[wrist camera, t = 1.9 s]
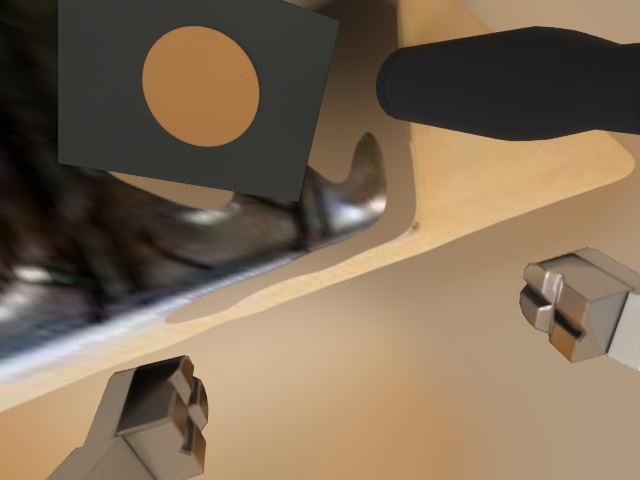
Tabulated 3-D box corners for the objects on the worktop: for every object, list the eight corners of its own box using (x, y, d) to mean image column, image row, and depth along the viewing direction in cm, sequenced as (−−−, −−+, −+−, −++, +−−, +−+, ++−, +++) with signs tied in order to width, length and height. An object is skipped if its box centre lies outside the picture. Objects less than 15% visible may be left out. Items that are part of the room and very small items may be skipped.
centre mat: (61, -79, 24) (57, -83, 23) (338, 22, 31) (340, 21, 30) (60, 161, 29) (57, 163, 28) (297, 200, 36) (298, 202, 35)
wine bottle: (362, 94, 34) (938, 144, 7) (402, 30, 32) (1268, -185, 6) (408, 132, 36) (942, 267, 10) (447, 75, 35) (1167, 61, 9)
